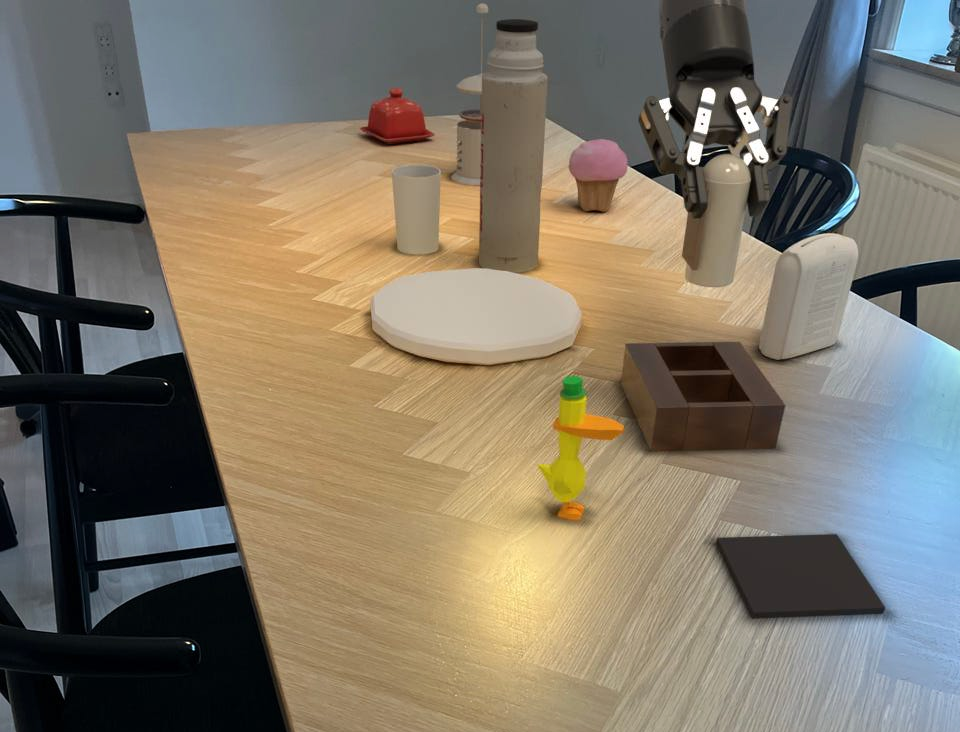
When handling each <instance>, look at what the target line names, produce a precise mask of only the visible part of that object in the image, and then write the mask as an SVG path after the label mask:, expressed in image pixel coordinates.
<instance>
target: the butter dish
mask: <svg viewBox="0 0 960 732" xmlns="http://www.w3.org/2000/svg"><path fill="white" fill-rule="evenodd" d="M388 93H389V95H390V97H384V98H382V99H379V100H376V101H375V102H373V103H372V104H371V105H370V109H369V113H368V120H367V126H362V127H360V128H359V129H360V131H362V132H364V133H366V134H367V135H370V136H371V137H373V138H375V139H376V140H379V141H382V142H384V143H386V144H387V145H395V144H402V143H404V144H405V143H411V142H419V141H423V139H427V138H432V137H434V136H435V135H436V133H435V132H433V131H431V130H430V129H427V128H426V122H425V116H424V111H423V109H422V108H421V106H420V105H419V104H418V103H416V102H415V101H414V100H411V99H409V98H405V97H402V96H403V94H404V91H403V90H402V89H401V88H397V87H394V88H391V89H389V91H388Z"/></svg>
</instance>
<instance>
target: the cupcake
mask: <svg viewBox="0 0 960 732" xmlns="http://www.w3.org/2000/svg"><path fill="white" fill-rule="evenodd" d="M568 161H569V162H568V171H569V173H570V174H571V176H572V177H573V178H574V180H575V182H576V187H577V202H578V205H579V207H580V208H581V209H582V210H583V212H591V211H598V212H604V213H605V212H607V211H608V210H609V209H610V207H611V205H612V202H613V199H614V196H615V192H616V189H617V186H618V183H619V180H620V179H622V178H624V177H625V176H626V174H627V172H628V158H627V155H626V153H625V152H624V150H622V148H620V147H619V145H618V143H617V142H615V141H614V140H609V139H604V138H598V139H592V140H588V141H585V142H581V143H580V145H578V147H576V148H575V149H573V150H572V151H571V154H570V157H569V159H568Z"/></svg>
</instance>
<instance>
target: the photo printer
mask: <svg viewBox="0 0 960 732" xmlns="http://www.w3.org/2000/svg"><path fill="white" fill-rule="evenodd" d="M858 260H859V248H858V246H857V243H856V241H855V240H854V239H853V238H851V237H849V236H845V235H842V234H839V233H833V232H831V233H830V232H827V233H819V234H816V235H813V236H809V237H805V238H804V239H802V240H800V241H798V242H796V243H794V244H792V245H791V246H789V247H788V248H787V249H785V250H784V251H783V252H782V253H781V254H780V255H779V256H778V258H777V260H776V262H775V266H774V271H773V276H772V280H771V285H770V290H769V295H768V300H767V304H766V308H765V313H764V314H765V315H764V319H763V323H762V329H761V332H760V339H759V343H758V344H759V346H758V349H759V350H760V352H761V355H764V356H765V357H767V358H769V359H773V360H777V361H779V360H786V359H790V358H791V359H792V358H795V357H798V356H803V355H805V354H809V353H811V352H815V351H818V350H821V349H825V348H828V347H832V346H834V345H835V344H836V342H837V341H838V338H839V335H840V330H841V327H842V324H843V323H842V322H843V319H844V316H845V315H844V314H845V310H846V307H847V303H848V299H849V295H850V292H851V287H852V283H853V281H854V276H855V272H856V270H857V269H856V268H857V265H858Z"/></svg>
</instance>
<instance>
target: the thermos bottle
mask: <svg viewBox="0 0 960 732" xmlns="http://www.w3.org/2000/svg"><path fill="white" fill-rule="evenodd" d="M495 25H496V26H495V27H496V32H497V33H496V34H495V45H494V48H493V49H492V50H490V51H489V52H488V54H487V60H486V64H487V71H485V72H483V73H482V100H481V163H480V185H479V225H478V226H479V231H478V232H479V234H478V236H479V238H478V264H479V266H480V268H487V269H493V270H500V271H508V272H512V273H517V274H521V273H526V272H531V271H532V270H535V269H536V268H537V267H538V265H539V250H540V249H539V247H540V230H541V229H540V227H541V196H542V185H543V173H544V172H543V171H544V153H545V135H546V119H547V118H546V117H547V115H546V114H547V98H548V97H547V96H548V80H549V79H548V75H546V74H545V73H544V72H543V68H544V66H545V64H544V62H545V60H544V54H542V52H540V51H539V50H538V48H537V35H536V32H537V31H538V30H539V22H538V21H535V20H530V19H521V18H512V19H511V18H509V19H500V20H497V21H496V23H495Z"/></svg>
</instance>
